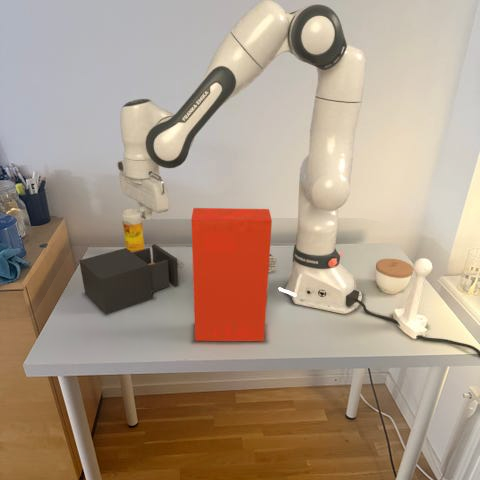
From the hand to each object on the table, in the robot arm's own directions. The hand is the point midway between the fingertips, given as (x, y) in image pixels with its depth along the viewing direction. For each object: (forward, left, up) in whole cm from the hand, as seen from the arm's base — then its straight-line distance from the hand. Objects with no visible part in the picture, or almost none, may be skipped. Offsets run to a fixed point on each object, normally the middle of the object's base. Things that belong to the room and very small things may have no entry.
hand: (146, 218), depth 128 cm
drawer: (0, -1, -20) cm, 20 cm away
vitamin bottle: (+19, -14, -21) cm, 31 cm away
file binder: (-33, +8, -21) cm, 40 cm away
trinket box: (-61, -39, -21) cm, 75 cm away
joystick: (-72, -22, -21) cm, 78 cm away
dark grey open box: (+4, +10, -21) cm, 24 cm away
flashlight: (-19, -32, -21) cm, 43 cm away
